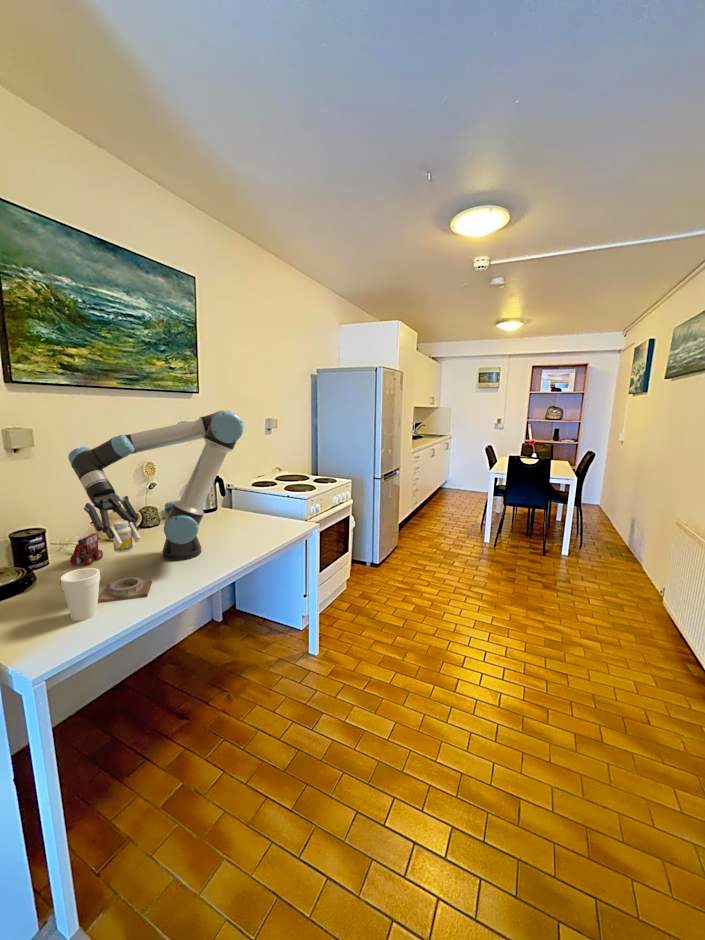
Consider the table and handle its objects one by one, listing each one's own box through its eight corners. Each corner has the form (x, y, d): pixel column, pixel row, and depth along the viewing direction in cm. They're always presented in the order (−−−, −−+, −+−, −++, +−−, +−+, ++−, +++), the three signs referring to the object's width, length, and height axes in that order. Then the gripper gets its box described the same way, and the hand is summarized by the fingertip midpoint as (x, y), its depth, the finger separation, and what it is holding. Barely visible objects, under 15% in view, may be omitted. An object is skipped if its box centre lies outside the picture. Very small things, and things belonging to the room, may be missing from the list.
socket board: (152, 582, 137) (151, 574, 137) (147, 596, 127) (146, 588, 127) (107, 587, 133) (106, 579, 132) (98, 602, 122) (97, 593, 122)
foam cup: (109, 607, 120) (106, 568, 118) (90, 623, 111) (86, 581, 109) (78, 607, 119) (74, 567, 117) (56, 623, 110) (52, 581, 108)
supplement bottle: (133, 550, 127) (131, 522, 125) (114, 554, 124) (112, 525, 122) (131, 545, 131) (129, 518, 130) (113, 548, 128) (111, 521, 126)
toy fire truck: (66, 568, 147) (63, 542, 145) (90, 555, 159) (88, 531, 158) (83, 569, 147) (80, 543, 145) (106, 556, 159) (104, 532, 157)
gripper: (121, 489, 140) (151, 540, 135) (64, 498, 124) (95, 557, 119) (129, 476, 137) (159, 528, 131) (70, 484, 121) (102, 544, 115)
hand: (129, 542), depth 125 cm, fingers closed on supplement bottle, 5 cm apart
